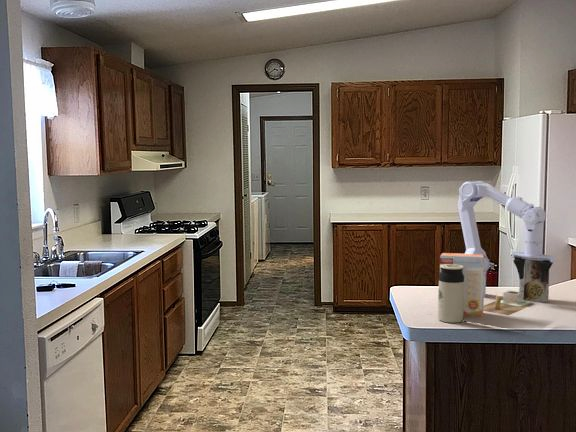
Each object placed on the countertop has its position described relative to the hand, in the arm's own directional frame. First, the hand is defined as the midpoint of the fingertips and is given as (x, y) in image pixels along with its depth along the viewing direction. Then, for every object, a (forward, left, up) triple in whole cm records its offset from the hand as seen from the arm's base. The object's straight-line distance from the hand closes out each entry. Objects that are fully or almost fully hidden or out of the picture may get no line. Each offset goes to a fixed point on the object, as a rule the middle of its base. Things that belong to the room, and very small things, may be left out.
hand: (532, 280), depth 217 cm
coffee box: (-4, +12, -10) cm, 16 cm away
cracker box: (-13, -27, -10) cm, 31 cm away
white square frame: (-6, -1, -9) cm, 11 cm away
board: (-6, -8, -10) cm, 14 cm away
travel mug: (-13, -34, -10) cm, 38 cm away
